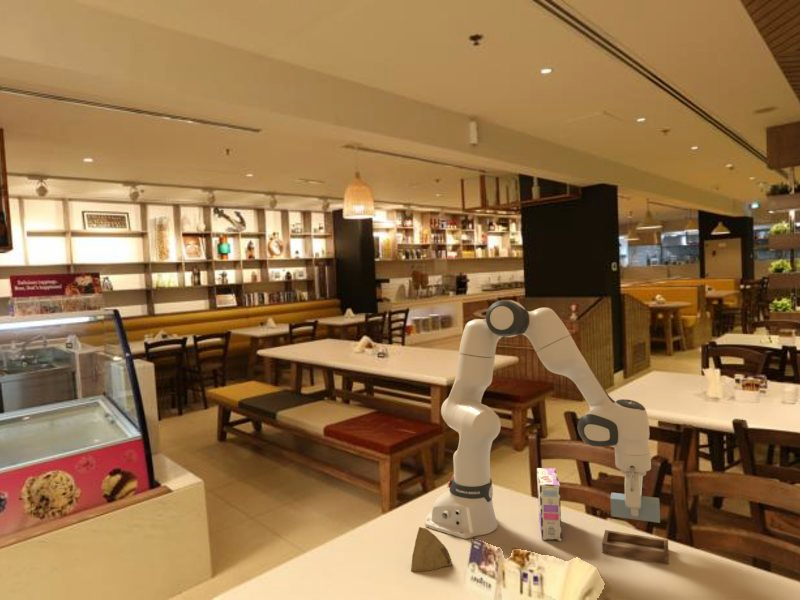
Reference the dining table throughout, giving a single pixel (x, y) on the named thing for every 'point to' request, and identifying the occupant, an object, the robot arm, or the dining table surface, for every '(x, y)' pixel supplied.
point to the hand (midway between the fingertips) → (635, 510)
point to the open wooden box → (635, 546)
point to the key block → (645, 513)
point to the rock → (429, 552)
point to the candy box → (549, 504)
